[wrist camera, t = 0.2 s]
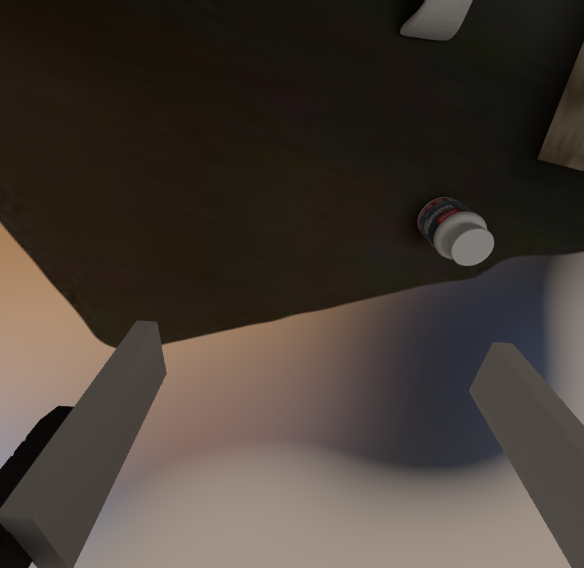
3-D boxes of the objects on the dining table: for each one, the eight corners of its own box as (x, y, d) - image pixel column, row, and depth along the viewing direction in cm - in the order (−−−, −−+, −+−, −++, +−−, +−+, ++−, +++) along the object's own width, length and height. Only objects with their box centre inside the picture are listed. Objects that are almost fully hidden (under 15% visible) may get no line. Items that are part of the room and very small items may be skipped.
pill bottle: (437, 187, 37) (473, 211, 29) (470, 209, 38) (514, 237, 30) (407, 225, 39) (434, 256, 31) (440, 245, 40) (473, 279, 33)
